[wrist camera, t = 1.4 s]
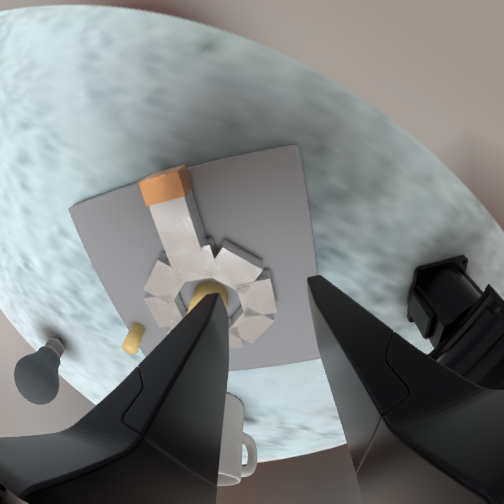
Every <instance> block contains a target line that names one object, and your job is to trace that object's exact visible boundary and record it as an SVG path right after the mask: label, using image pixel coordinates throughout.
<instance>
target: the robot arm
mask: <svg viewBox="0 0 504 504" xmlns="http://www.w3.org/2000/svg"><path fill="white" fill-rule="evenodd" d="M467 263H468V259H467V258H466V257H465V256H460V257H457V258H453V259H449V260H445V261H442V262H438V263H434V264H430V265H426V266H422V267H419V268H417V269H416V270H415V273H414V281H413V288H412V291H411V295H410V301H409V307H408V317H407V318H408V320H409V322H415V324H416V325H417V327H418V329H419V331H420V332H421V334H422V336H423V338H425V339H428V338H429V340H430V342H431V344H432V346H433V347H434V349H433V350H432V351H431V352H430V353H429V354H427V355H426V354H425V353H423V352H422V351H420V350H419V349H417V348H416V347H415V346H413V345H412V344H410V343H409V342H408V341H406V340H405V339H404V338H402V337H401V336H400V335H399V334H397V333H396V332H393V330H392V329H391V328H389V327H388V326H387V325H386V324H384V323H383V322H382V321H380V320H379V319H378V318H376V317H375V316H374V315H373V314H371V313H370V312H369V311H367V310H366V309H365V308H363V307H362V306H361V305H360V304H358V303H357V302H356V301H354V300H353V299H352V298H350V297H349V296H348V295H346V294H345V293H344V292H342V291H341V290H340V289H338V288H337V287H336V286H334V285H333V284H332V283H330V282H329V281H328V280H326V279H325V278H324V277H322V276H321V275H316V276H311V277H308V278H307V289H308V297H309V304H310V309H311V314H312V320H313V325H314V330H315V335H316V341H317V346H318V350H319V353H320V357H321V360H322V363H323V366H324V369H325V372H326V375H327V378H328V382H329V385H330V388H331V391H332V394H333V398H334V401H335V404H336V407H337V411H338V414H339V417H340V421H341V424H342V427H343V431H344V434H345V438H346V441H347V444H348V448H349V451H350V455H351V458H352V462H353V466H354V469H355V473H356V477H357V481H358V484H359V488H360V492H361V496H362V500H363V503H364V504H504V299H503V298H502V297H501V296H500V295H499V294H498V293H497V292H496V291H495V290H494V289H493V288H492V287H491V286H490V285H489V284H488V285H487V287H486V288H485V289H486V290H485V291H484V292H483V291H482V290H481V289H480V288H479V287H478V286H477V285H476V284H475V282H474V281H473V280H472V279H471V278H470V277H469V276H468V275H467V274H466V273H465V272H466V268H467ZM420 272H421V273H420ZM419 273H420V274H419ZM228 371H229V319H228V313H227V310H226V307H225V305H224V302H223V299H222V296H221V294H220V293H218V292H217V293H210V294H206V295H205V296H204V297H203V298H202V299H201V300H200V301H199V302H198V303H197V304H196V305H195V306H194V307H193V308H192V310H191V311H190V312H189V313H188V314H187V315H186V316H185V317H184V318H183V319H182V320H181V321H180V322H179V323H178V324H177V325H176V326H175V327H174V328H173V329H172V330H171V331H170V333H169V334H168V335H167V336H166V337H165V338H164V339H163V340H162V341H161V342H160V343H159V344H158V345H157V346H156V347H155V348H154V349H153V350H152V351H151V352H150V353H149V354H148V356H147V357H146V358H145V359H144V360H143V361H142V362H141V363H140V364H139V365H138V367H136V368H135V369H134V370H133V371H132V372H131V373H130V374H129V375H128V376H127V377H126V378H125V379H124V380H123V381H122V382H121V383H120V384H119V385H118V386H117V387H116V388H115V389H114V390H113V391H112V392H111V393H110V394H109V395H108V396H106V397H105V398H104V399H103V400H102V401H101V402H100V403H99V404H97V405H96V406H95V407H94V408H93V409H92V410H90V411H89V412H88V413H87V414H86V415H85V416H84V417H82V418H81V419H80V420H79V421H78V422H77V423H75V424H74V425H73V426H71V427H70V428H68V429H66V430H63V431H61V432H58V433H52V434H43V435H34V436H22V437H4V438H0V504H216V493H217V488H216V487H217V482H218V471H219V461H220V450H221V440H222V430H223V420H224V410H225V400H226V390H227V381H228Z"/></svg>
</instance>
